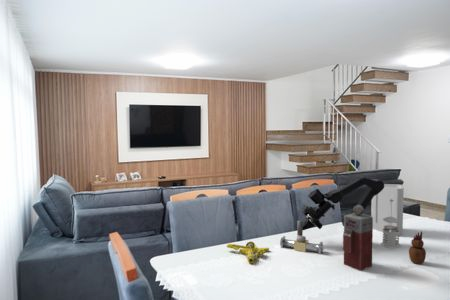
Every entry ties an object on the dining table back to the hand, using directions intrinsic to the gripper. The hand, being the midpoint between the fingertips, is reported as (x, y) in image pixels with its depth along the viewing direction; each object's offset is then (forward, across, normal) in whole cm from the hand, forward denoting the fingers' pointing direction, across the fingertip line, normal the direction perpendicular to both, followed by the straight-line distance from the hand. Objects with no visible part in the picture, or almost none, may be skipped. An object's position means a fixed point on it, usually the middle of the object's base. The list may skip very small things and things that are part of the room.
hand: (301, 230), depth 182 cm
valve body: (+7, +8, +4) cm, 11 cm away
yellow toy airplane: (+28, +16, -17) cm, 36 cm away
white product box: (-38, -20, +51) cm, 66 cm away
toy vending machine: (-7, +31, +17) cm, 36 cm away
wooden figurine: (-28, +30, +38) cm, 56 cm away
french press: (-28, +4, +40) cm, 49 cm away
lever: (+3, +5, +1) cm, 6 cm away
